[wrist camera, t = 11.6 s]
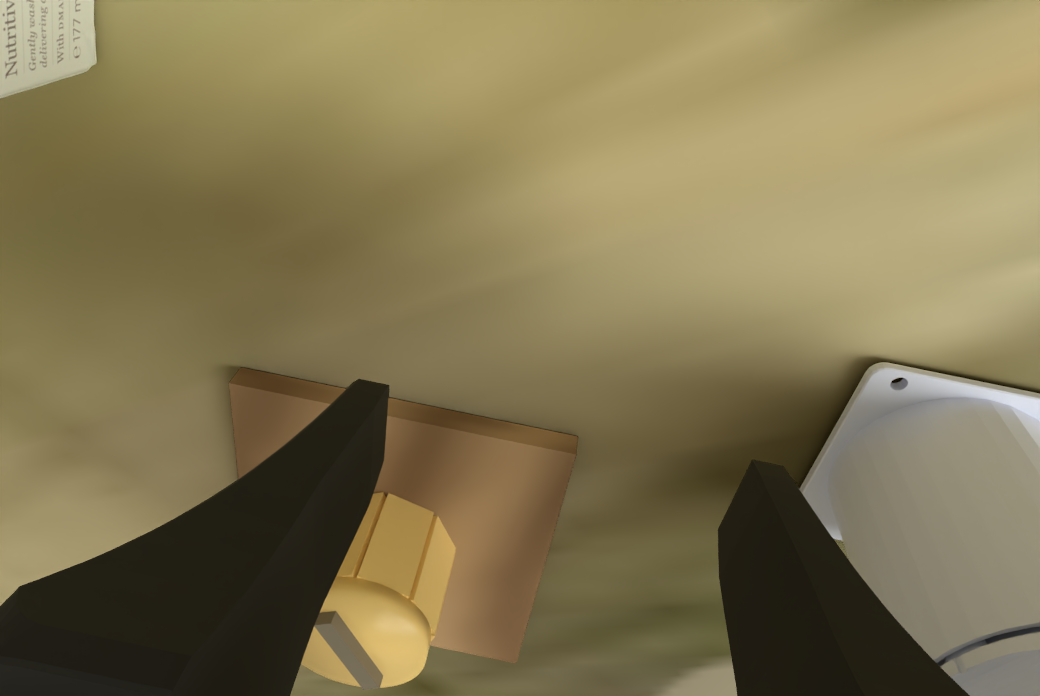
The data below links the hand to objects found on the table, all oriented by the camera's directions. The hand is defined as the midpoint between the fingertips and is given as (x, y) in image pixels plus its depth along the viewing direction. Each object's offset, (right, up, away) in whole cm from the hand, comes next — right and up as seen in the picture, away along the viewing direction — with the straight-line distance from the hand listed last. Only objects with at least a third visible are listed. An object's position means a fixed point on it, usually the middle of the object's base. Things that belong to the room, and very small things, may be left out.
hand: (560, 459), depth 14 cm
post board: (-6, -5, +17) cm, 19 cm away
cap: (-6, -6, +16) cm, 18 cm away
